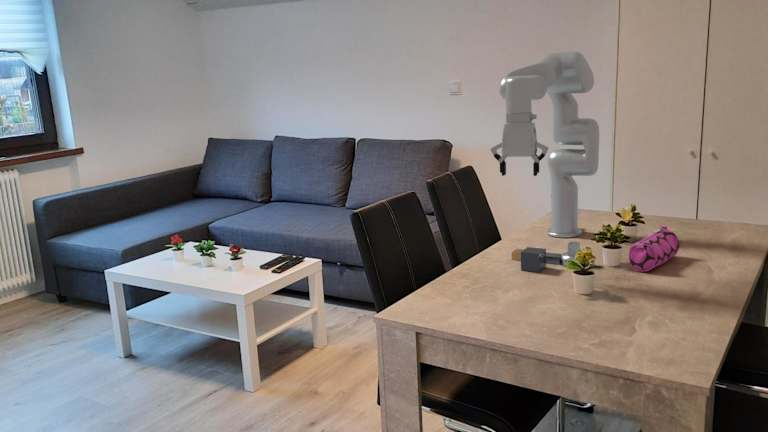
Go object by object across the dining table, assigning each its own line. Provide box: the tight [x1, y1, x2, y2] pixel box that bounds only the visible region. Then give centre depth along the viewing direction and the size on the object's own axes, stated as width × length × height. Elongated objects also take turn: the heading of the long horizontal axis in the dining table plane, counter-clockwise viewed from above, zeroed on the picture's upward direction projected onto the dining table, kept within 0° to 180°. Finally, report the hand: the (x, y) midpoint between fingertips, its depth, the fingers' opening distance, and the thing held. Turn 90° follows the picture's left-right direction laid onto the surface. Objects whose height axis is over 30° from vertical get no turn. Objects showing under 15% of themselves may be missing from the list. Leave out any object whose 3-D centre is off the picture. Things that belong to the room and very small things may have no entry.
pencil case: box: [628, 225, 680, 273], centre depth 204 cm, size 21×10×10 cm, turn 140°
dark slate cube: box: [520, 246, 547, 273], centre depth 206 cm, size 6×6×6 cm
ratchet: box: [511, 241, 581, 267], centre depth 213 cm, size 24×8×7 cm, turn 58°
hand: (519, 175), depth 201 cm, fingers open, 9 cm apart
